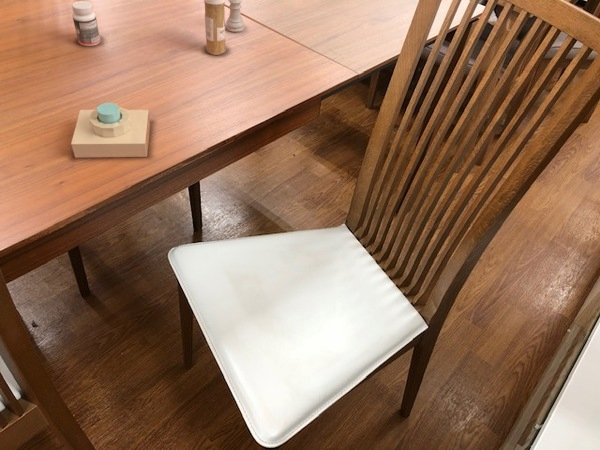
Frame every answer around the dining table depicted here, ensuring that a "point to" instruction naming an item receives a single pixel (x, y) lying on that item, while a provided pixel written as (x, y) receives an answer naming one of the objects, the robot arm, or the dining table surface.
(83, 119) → the button base
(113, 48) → the dining table surface
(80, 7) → the pill bottle
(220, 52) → the sprinkles bottle
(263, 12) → the dining table surface
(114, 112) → the teal button cap
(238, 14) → the rook chess piece
